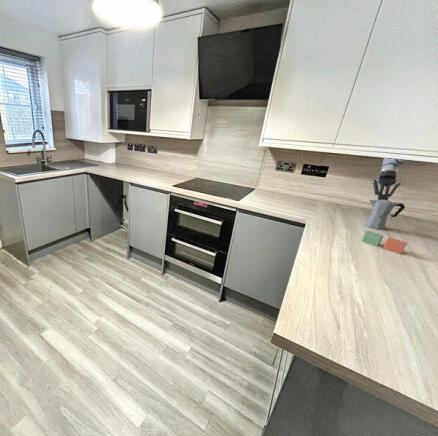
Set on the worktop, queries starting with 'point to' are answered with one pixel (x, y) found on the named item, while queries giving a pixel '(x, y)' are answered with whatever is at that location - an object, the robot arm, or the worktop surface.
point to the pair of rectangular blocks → (389, 245)
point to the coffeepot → (381, 213)
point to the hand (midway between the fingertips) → (380, 204)
